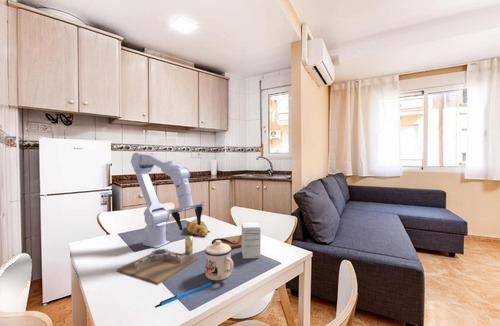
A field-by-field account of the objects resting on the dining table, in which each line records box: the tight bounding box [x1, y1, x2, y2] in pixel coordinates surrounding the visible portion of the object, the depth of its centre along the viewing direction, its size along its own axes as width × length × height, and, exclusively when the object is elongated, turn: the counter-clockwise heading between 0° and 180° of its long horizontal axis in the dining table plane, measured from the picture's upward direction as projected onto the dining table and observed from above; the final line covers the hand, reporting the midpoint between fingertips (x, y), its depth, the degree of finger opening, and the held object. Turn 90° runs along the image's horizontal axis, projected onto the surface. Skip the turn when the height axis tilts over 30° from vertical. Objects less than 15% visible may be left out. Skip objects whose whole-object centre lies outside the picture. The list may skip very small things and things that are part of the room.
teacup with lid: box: [204, 240, 235, 281], centre depth 78 cm, size 12×9×12 cm
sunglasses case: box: [211, 234, 242, 250], centre depth 106 cm, size 18×7×7 cm, turn 121°
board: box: [116, 250, 199, 285], centre depth 86 cm, size 20×20×1 cm
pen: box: [155, 281, 216, 308], centre depth 68 cm, size 1×19×1 cm, turn 131°
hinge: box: [135, 248, 182, 269], centre depth 86 cm, size 14×14×2 cm
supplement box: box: [241, 221, 262, 259], centre depth 95 cm, size 7×7×13 cm
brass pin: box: [184, 235, 194, 256], centre depth 96 cm, size 3×3×7 cm
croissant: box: [186, 218, 209, 237], centre depth 125 cm, size 21×10×8 cm, turn 40°
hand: (190, 227), depth 96 cm, fingers open, 7 cm apart
